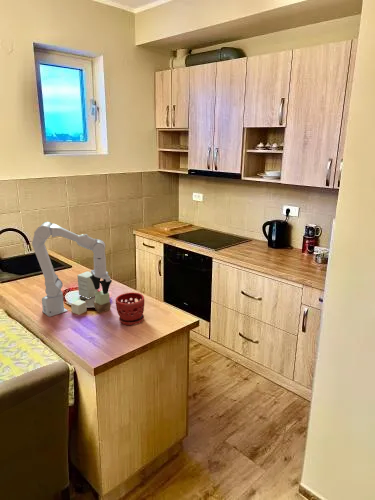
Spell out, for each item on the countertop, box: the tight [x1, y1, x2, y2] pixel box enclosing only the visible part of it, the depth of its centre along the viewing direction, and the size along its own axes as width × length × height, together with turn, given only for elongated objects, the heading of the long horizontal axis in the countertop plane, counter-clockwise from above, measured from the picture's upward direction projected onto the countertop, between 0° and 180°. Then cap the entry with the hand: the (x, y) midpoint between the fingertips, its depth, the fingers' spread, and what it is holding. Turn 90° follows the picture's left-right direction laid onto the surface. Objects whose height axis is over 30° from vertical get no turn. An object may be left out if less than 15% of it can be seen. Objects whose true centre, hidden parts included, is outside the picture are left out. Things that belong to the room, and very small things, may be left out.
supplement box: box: [76, 271, 99, 298], centre depth 195 cm, size 7×7×13 cm
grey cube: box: [70, 299, 88, 316], centre depth 178 cm, size 5×5×5 cm
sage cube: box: [94, 290, 111, 305], centre depth 180 cm, size 5×5×5 cm
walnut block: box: [93, 300, 111, 314], centre depth 181 cm, size 6×6×4 cm
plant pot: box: [115, 292, 145, 326], centre depth 168 cm, size 13×13×12 cm
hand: (101, 291), depth 179 cm, fingers open, 7 cm apart
